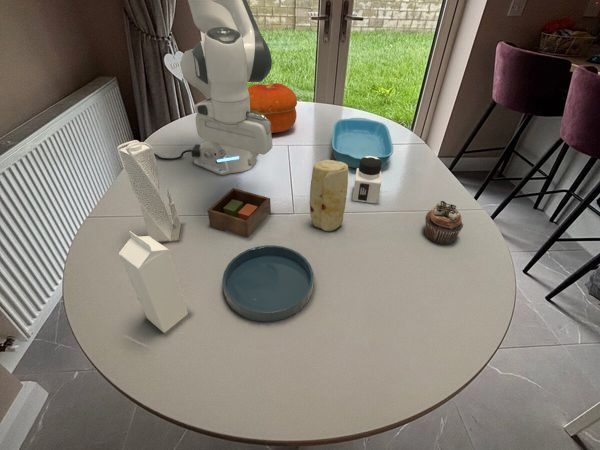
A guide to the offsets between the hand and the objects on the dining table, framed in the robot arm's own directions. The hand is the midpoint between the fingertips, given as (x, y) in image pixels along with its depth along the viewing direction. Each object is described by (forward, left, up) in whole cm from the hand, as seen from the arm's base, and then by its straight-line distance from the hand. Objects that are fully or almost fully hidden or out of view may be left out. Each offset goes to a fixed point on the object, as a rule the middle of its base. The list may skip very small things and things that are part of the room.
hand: (236, 160), depth 87 cm
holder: (+1, -2, -18) cm, 18 cm away
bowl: (+20, -21, -18) cm, 34 cm away
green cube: (-1, -3, -17) cm, 17 cm away
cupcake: (+54, +16, -18) cm, 59 cm away
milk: (+5, -37, -18) cm, 42 cm away
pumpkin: (-22, +60, -18) cm, 66 cm away
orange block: (+4, -3, -17) cm, 18 cm away
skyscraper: (-14, -17, -18) cm, 28 cm away
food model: (+24, +6, -18) cm, 30 cm away
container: (+30, +26, -18) cm, 43 cm away
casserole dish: (+20, +55, -18) cm, 61 cm away
